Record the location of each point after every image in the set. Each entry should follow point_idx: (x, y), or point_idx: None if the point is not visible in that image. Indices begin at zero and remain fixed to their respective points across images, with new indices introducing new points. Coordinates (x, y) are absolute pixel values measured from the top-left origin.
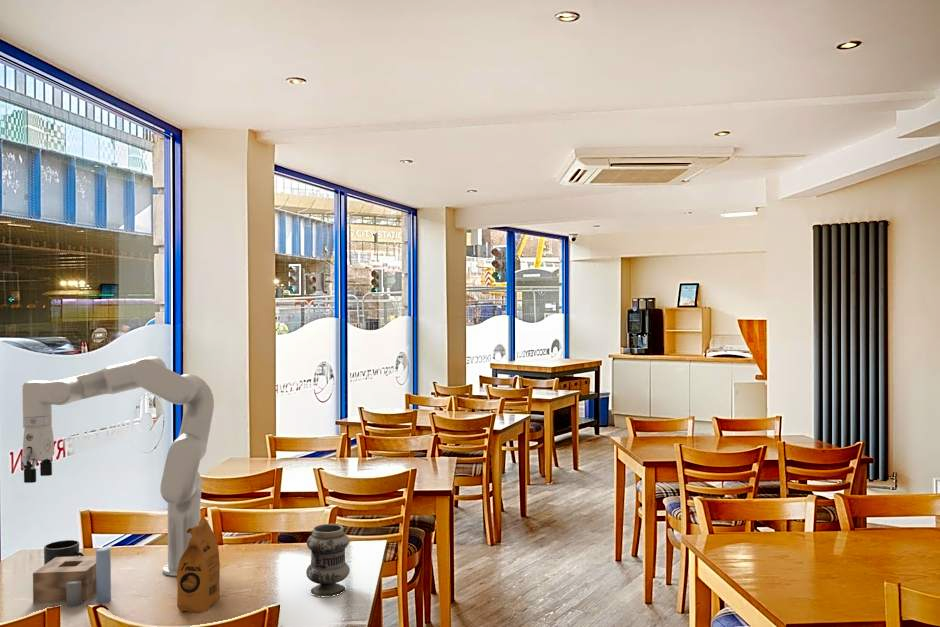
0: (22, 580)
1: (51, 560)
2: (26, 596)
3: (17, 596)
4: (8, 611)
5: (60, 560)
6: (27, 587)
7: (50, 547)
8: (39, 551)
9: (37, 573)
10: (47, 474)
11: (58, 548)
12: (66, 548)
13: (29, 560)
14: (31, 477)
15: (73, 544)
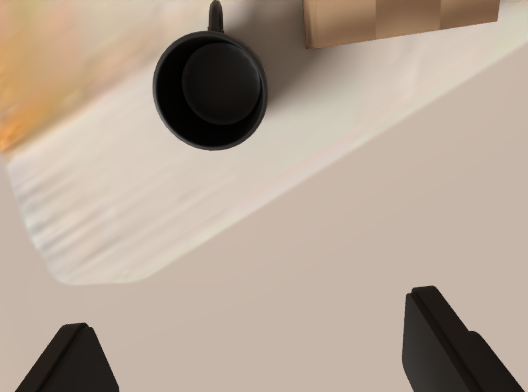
0: (273, 163)
1: (358, 40)
2: (394, 77)
3: (391, 102)
4: (501, 56)
5: (361, 2)
6: (325, 118)
7: (204, 141)
8: (59, 254)
9: (498, 3)
10: (96, 353)
11: (180, 126)
12: (249, 49)
13: (128, 237)
14: (483, 347)
15: (162, 77)
